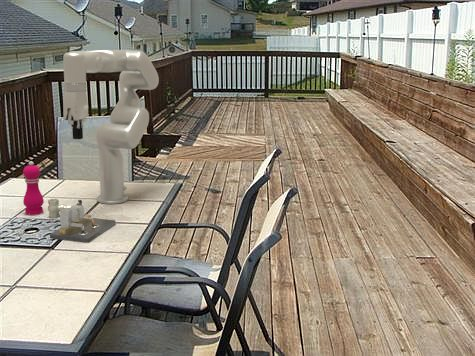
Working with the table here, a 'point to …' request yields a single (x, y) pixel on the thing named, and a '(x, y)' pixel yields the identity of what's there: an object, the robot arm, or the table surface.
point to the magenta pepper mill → (32, 190)
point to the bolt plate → (80, 228)
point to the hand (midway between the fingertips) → (77, 138)
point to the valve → (57, 207)
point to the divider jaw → (79, 214)
